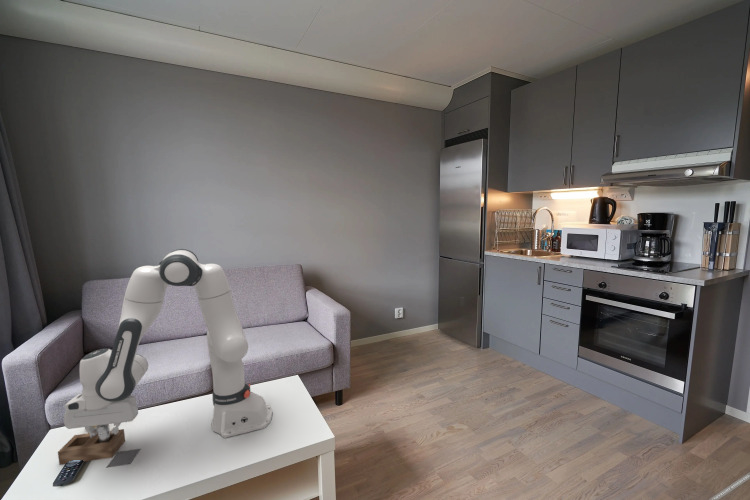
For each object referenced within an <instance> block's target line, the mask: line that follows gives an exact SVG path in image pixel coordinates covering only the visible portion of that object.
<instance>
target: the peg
mask: <svg viewBox="0 0 750 500" xmlns="http://www.w3.org/2000/svg"><path fill="white" fill-rule="evenodd" d="M97 429H98V436H99V443H105V442H109V441H110V440H111V437H110V431H111V430H110V424H106V425H98V426H97Z"/></svg>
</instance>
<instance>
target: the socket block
mask: <svg viewBox="0 0 750 500" xmlns="http://www.w3.org/2000/svg"><path fill="white" fill-rule="evenodd" d="M110 437H111V440H110V441H109V442H105V443H99V436H98V435H97V436H96V437H92V438H90V433H88V432H87V433H82V434H75V435H74V436H72V437H71V439H69V440H68V441H67V443H65V444H64V445H63V446H62V447H61V448H60V449H59V450H58V451H57V456H58V463H59V466H60V465H61V466H62V465H67V464H66V463H67V462H69V461H72V460H83V461H84V462H91V461H98V460H102V459H103V460H105V459H113V458H114V456H115V455H116V454H117V453H118V452H119V450H120V448H121V447H122V446H123V445H124V443H125V442H126V437H125V429H123V428H122V429H119V432H118V433H117V434H115V435H111V430H110Z"/></svg>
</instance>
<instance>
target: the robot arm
mask: <svg viewBox="0 0 750 500" xmlns="http://www.w3.org/2000/svg"><path fill="white" fill-rule="evenodd" d="M169 285H170V286H172V287H194V289H195V292H196V296H197V299H198V300H197V301H198V302H199V307H200V310H201V314H202V318H203V320H204V324H205V326H206V328H207V331H206V340H207V348H208V355H209V359H210V360H209V361H210V362H209V363H210V367H211V373H212V386H213V391H212V395H211V396H212V399H211V400H212V404H213V415H212V422H211V426H210V428H211V430H212V431H213V432H215V433H217V434H219V435H220V436H221V437H222V438H223V439H225V438H230V437H234V436H237V435H242V434H246V433H249V432H253V431H257V430H262V429H264V428H267V427H268V426H269V424H271V421H272V418H273V409H272V406H270V404H266V401H265V399H264V397H263V396H262V395H259V394H257V393H254V392H252V391H251V383H249V384H246V383H245V368H244V361H243V359H244V357H245V356H246V355H247V353H248V350H249V344H248V341H247V338H246V335H245V332H244V328H243V326H242V323H241V320H240V318H239V314H238V312H237V310H236V305H235V302H234V299H233V295H232V291H231V286H230V283H229V280H228V278H227V275H226V273H225V270H224V269H223V267H222V266H221V265H219V264H217V263H205V264H204V263H200V262H199V259H198V257H197V255H196V254H195V253H194V252H193V251H191V250H189V249H183V248H178V249H175V250H173V251H170V252H169V253H168V254H166V256H164V258H163V259H162V260H161V261H160V262H159V264H158V265H143V266H140V267H137V268H136V269H135V270H133V272H132V274H131V275H130V279H129V280H128V283H127V285H126V289H125V293H124V296H123V302H122V306H121V311H120V312H121V313H120V319H119V323H118V328H117V332H116V335H115V339H114V342H113V345H112V349H111V348H100V349H97V350H94V351H91V352H89V353H88V354H86V355H85V356H84V357H82V358H81V359H80V361H79V381H80V382H79V383H80V384H81V385H82V390H81V393H78V394H77V395H75V396H74V397H73V398H72V399H70V400H69V401H68V402H66V404H65V405H64V410H65V412H64V414H63V415H64V416H63V422H64V427H65V428H66V429H67V430H72V429H81V428H84V431H86V432H87V434H88V433H90V438H92V437H96V436H97V435H98V429H97V430H95V429H94V428H93V426H98V425H106V424H109V425H113V426H114V427H113V428H112V429H111V430H110V431H111V435H115V434H117V433H118V432H119V430H120V429H119V427H120V426H121V424H123V423H130V422H131V423H132V422H133V421H134V420H135V419H136V418H137V416H138V415H139V409H138V405H137V398H136V396H135V395H133V394H132V393H133V391H134V390H135V388H136V386H137V385H138V384H139V382H140V381H141V380H142V379H143V377H144V376H145V375H146V373H147V372H148V370H149V363H148V361H147V359H146V357H144V356H142V355H141V354H138V353H137V350H138V348H139V345H140V342H141V340H142V339H143V337H144V335H145V333H147V331H148V330H149V329H150V327H151V326H152V325H153V324H154V323H155V321H156V320H157V319H158V317H159V315H160V312H161V311H162V307H163V303H164V299H165V295H166V292H167V288H168V287H169Z"/></svg>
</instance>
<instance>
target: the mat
mask: <svg viewBox="0 0 750 500" xmlns="http://www.w3.org/2000/svg"><path fill="white" fill-rule="evenodd" d="M140 451H141V448H137V449H128V450H122V451H117V452H116V453H115V455H114V456H113V457H112V458H111V460H110V461H109V463H108V464H107V466H106V467H105V468H106V469H107V468H113V467H120V466H121V467H122V466H127V465H132V463H133V461H134V460H135V459H136V457H137V455H138V454H139V452H140Z"/></svg>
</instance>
